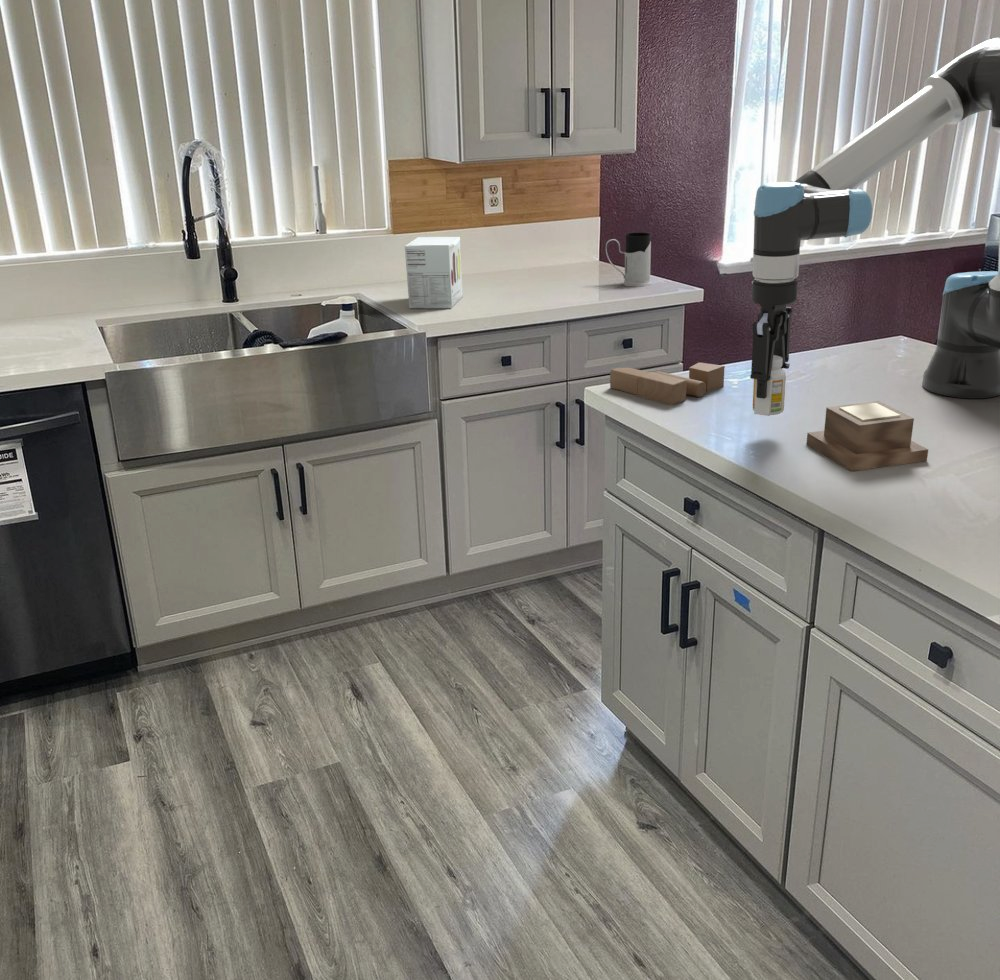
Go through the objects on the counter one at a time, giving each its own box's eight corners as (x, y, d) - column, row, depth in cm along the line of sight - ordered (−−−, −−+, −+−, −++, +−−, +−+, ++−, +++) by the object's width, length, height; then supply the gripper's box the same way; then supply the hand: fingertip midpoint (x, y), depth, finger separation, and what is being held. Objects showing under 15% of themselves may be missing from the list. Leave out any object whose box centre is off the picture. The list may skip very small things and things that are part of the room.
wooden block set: (676, 381, 194) (608, 364, 207) (675, 408, 196) (608, 390, 209) (729, 362, 204) (661, 348, 217) (727, 389, 206) (660, 373, 219)
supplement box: (453, 309, 286) (449, 245, 279) (408, 309, 288) (403, 245, 281) (464, 296, 301) (461, 235, 294) (421, 296, 304) (417, 236, 297)
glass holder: (652, 286, 304) (653, 236, 299) (605, 287, 306) (605, 237, 300) (650, 280, 312) (651, 231, 307) (605, 281, 314) (605, 233, 308)
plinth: (877, 434, 177) (882, 394, 174) (926, 460, 165) (932, 419, 162) (806, 443, 174) (809, 403, 171) (851, 471, 162) (855, 428, 159)
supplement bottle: (760, 404, 180) (763, 352, 177) (788, 409, 177) (792, 356, 173) (747, 412, 177) (749, 359, 173) (775, 417, 173) (778, 363, 170)
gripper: (771, 267, 177) (765, 392, 186) (733, 288, 163) (728, 422, 172) (813, 269, 173) (805, 397, 182) (778, 290, 159) (771, 428, 168)
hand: (768, 408), depth 177 cm, fingers closed on supplement bottle, 5 cm apart
